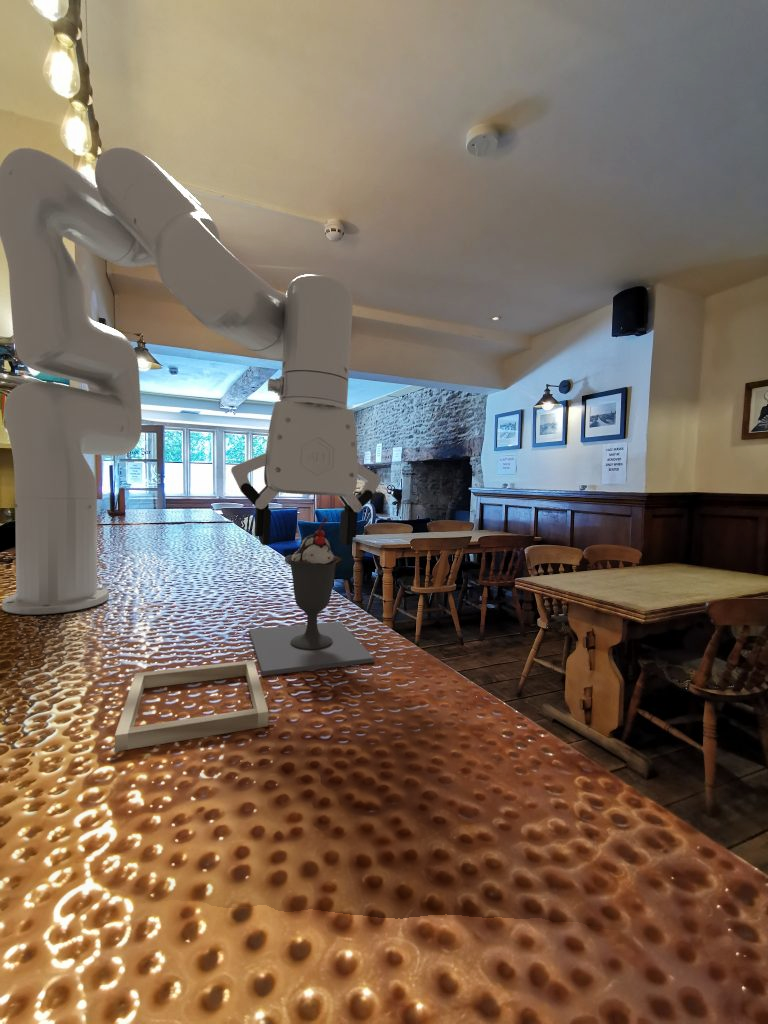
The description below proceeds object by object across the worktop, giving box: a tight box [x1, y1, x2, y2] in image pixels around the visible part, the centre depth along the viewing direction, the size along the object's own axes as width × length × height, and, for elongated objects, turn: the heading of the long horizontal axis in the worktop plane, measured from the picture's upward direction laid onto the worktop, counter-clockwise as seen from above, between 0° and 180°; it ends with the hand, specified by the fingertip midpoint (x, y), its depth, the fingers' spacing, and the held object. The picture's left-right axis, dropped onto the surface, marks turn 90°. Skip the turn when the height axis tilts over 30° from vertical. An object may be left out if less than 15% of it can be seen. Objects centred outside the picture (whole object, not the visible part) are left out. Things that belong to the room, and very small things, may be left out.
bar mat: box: [248, 621, 375, 677], centre depth 52 cm, size 13×12×1 cm
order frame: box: [114, 659, 269, 753], centre depth 38 cm, size 11×11×1 cm
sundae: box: [284, 517, 343, 650], centre depth 52 cm, size 7×7×15 cm
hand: (306, 543), depth 52 cm, fingers open, 9 cm apart
